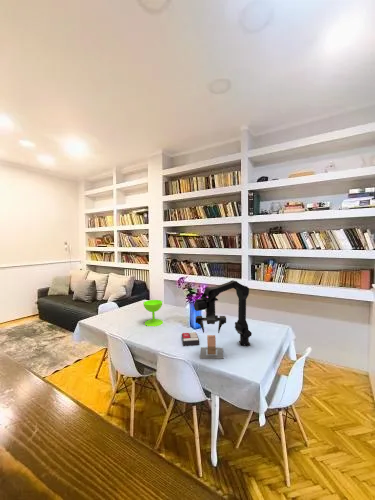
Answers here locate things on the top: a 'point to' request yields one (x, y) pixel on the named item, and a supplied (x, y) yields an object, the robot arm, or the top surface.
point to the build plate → (205, 354)
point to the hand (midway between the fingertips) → (211, 332)
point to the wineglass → (153, 307)
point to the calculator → (190, 339)
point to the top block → (211, 340)
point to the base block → (211, 350)
